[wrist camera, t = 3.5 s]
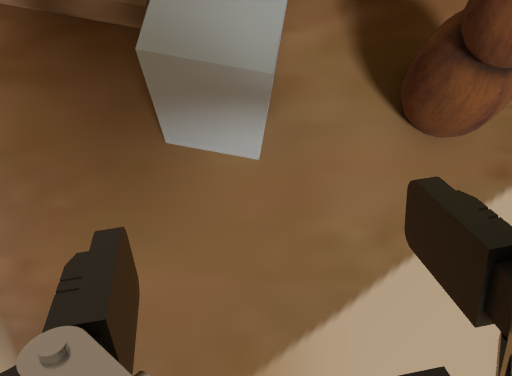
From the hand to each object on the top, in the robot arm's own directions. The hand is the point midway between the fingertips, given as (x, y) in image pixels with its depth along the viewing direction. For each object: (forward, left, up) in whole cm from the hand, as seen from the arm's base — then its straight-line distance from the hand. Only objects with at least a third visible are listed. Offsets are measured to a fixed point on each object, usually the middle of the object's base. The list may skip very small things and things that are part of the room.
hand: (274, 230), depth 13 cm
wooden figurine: (-10, -14, -15) cm, 23 cm away
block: (+4, -11, -15) cm, 19 cm away
